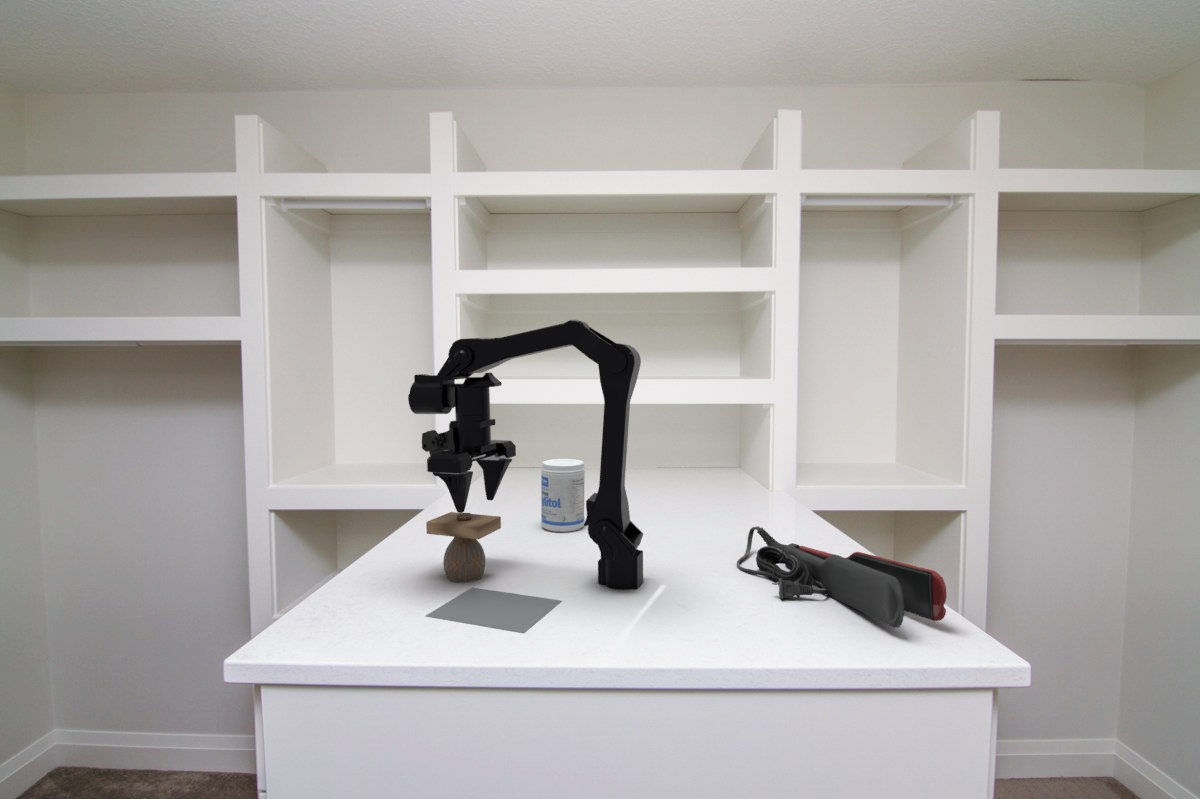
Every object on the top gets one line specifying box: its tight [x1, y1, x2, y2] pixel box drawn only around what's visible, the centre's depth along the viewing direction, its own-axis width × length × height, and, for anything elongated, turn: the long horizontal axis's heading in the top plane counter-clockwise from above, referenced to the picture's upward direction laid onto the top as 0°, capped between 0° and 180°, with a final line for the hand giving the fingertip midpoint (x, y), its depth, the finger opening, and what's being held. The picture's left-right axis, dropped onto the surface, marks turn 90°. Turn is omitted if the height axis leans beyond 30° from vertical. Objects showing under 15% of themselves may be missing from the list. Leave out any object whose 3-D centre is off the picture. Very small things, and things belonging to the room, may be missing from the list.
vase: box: [442, 537, 486, 583], centre depth 106 cm, size 7×7×9 cm
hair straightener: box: [736, 526, 947, 629], centre depth 102 cm, size 16×40×8 cm, turn 19°
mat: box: [425, 587, 563, 634], centre depth 93 cm, size 16×12×1 cm
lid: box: [425, 511, 502, 540], centre depth 106 cm, size 10×7×3 cm
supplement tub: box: [540, 458, 586, 533], centre depth 140 cm, size 10×10×15 cm
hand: (475, 506), depth 107 cm, fingers open, 9 cm apart
